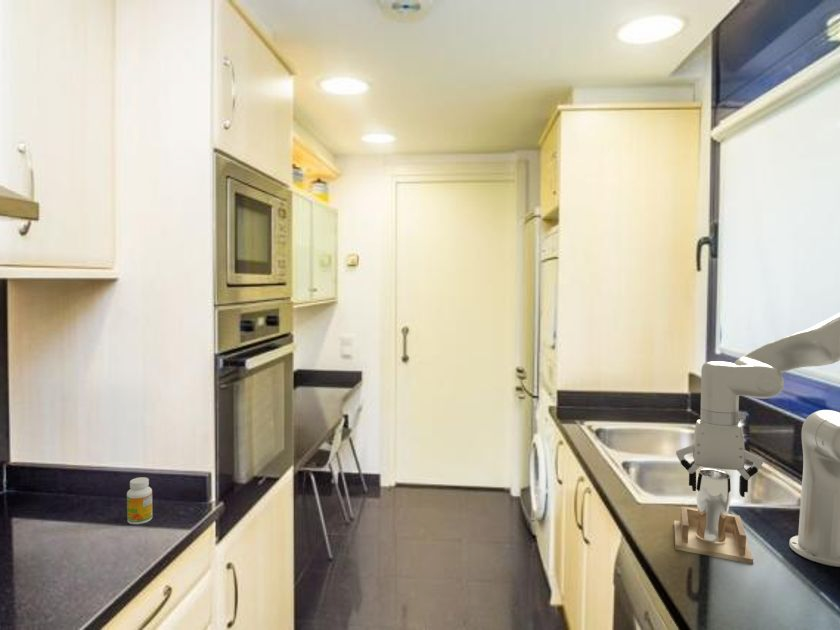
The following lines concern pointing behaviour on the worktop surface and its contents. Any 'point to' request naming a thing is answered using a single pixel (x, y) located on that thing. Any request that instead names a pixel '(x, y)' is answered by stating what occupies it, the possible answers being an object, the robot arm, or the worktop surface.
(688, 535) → the glass rest
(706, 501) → the beer glass
